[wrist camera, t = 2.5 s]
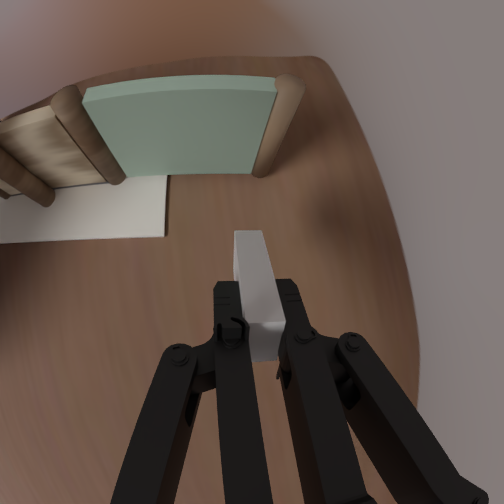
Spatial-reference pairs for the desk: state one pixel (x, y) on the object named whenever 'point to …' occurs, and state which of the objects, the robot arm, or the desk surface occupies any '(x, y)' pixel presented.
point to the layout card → (88, 212)
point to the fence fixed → (54, 150)
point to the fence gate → (195, 122)
